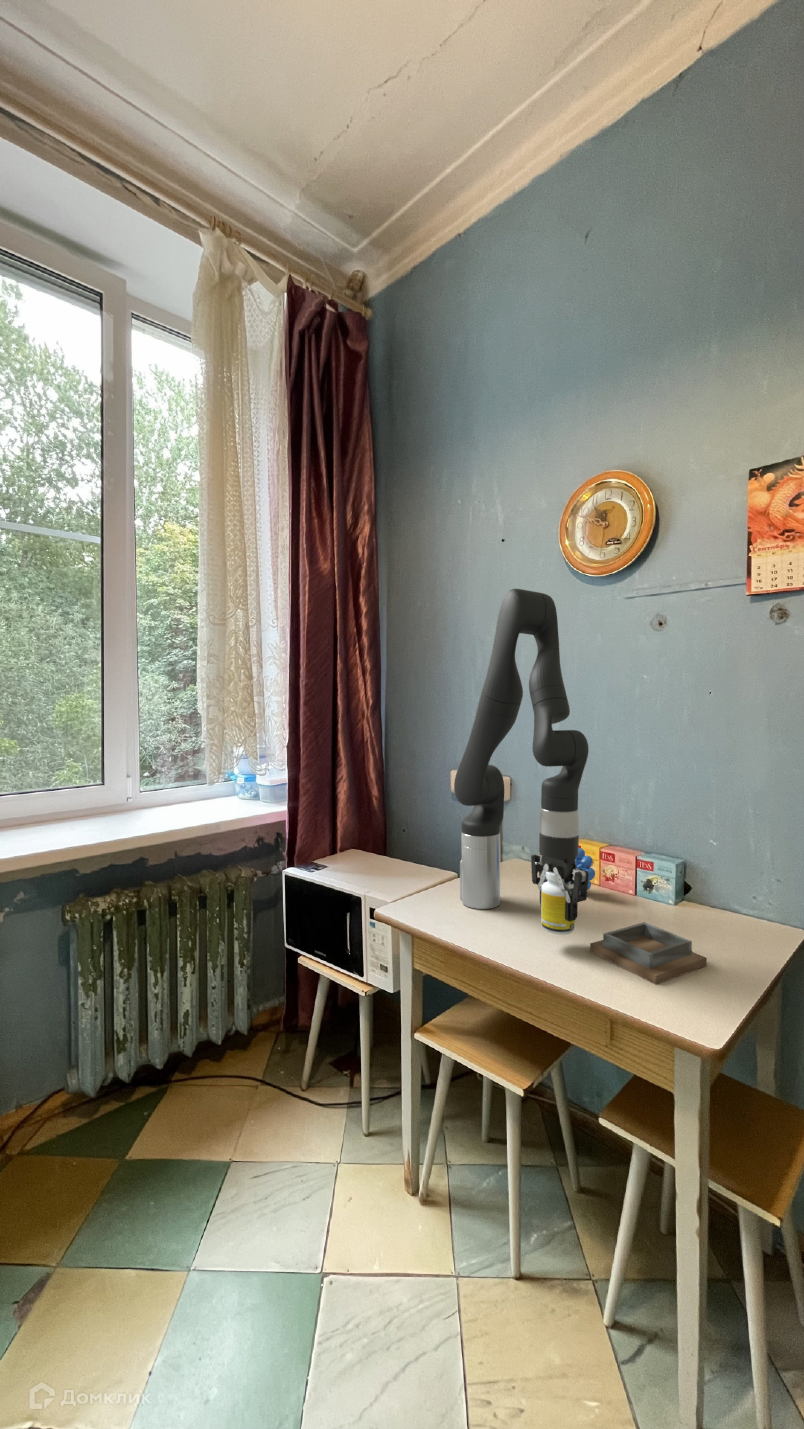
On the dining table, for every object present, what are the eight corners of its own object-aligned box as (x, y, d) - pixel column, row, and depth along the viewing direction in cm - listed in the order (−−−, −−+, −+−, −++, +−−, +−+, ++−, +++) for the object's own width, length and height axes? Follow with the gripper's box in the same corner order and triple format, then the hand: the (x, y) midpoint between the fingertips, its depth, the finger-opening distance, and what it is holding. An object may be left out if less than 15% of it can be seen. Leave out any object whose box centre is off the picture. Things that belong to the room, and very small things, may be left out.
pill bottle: (568, 938, 113) (569, 879, 112) (536, 931, 116) (537, 873, 115) (578, 927, 118) (579, 870, 117) (547, 920, 122) (548, 864, 121)
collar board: (590, 950, 115) (590, 930, 115) (639, 936, 122) (639, 917, 122) (655, 984, 102) (655, 961, 102) (706, 965, 109) (706, 944, 109)
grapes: (606, 897, 144) (606, 849, 144) (587, 903, 141) (587, 853, 141) (570, 884, 155) (571, 839, 154) (551, 889, 151) (552, 843, 151)
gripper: (600, 837, 111) (599, 923, 112) (548, 821, 124) (547, 898, 125) (570, 842, 108) (569, 931, 109) (520, 825, 121) (519, 905, 121)
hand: (557, 913), depth 117 cm, fingers closed on pill bottle, 6 cm apart
